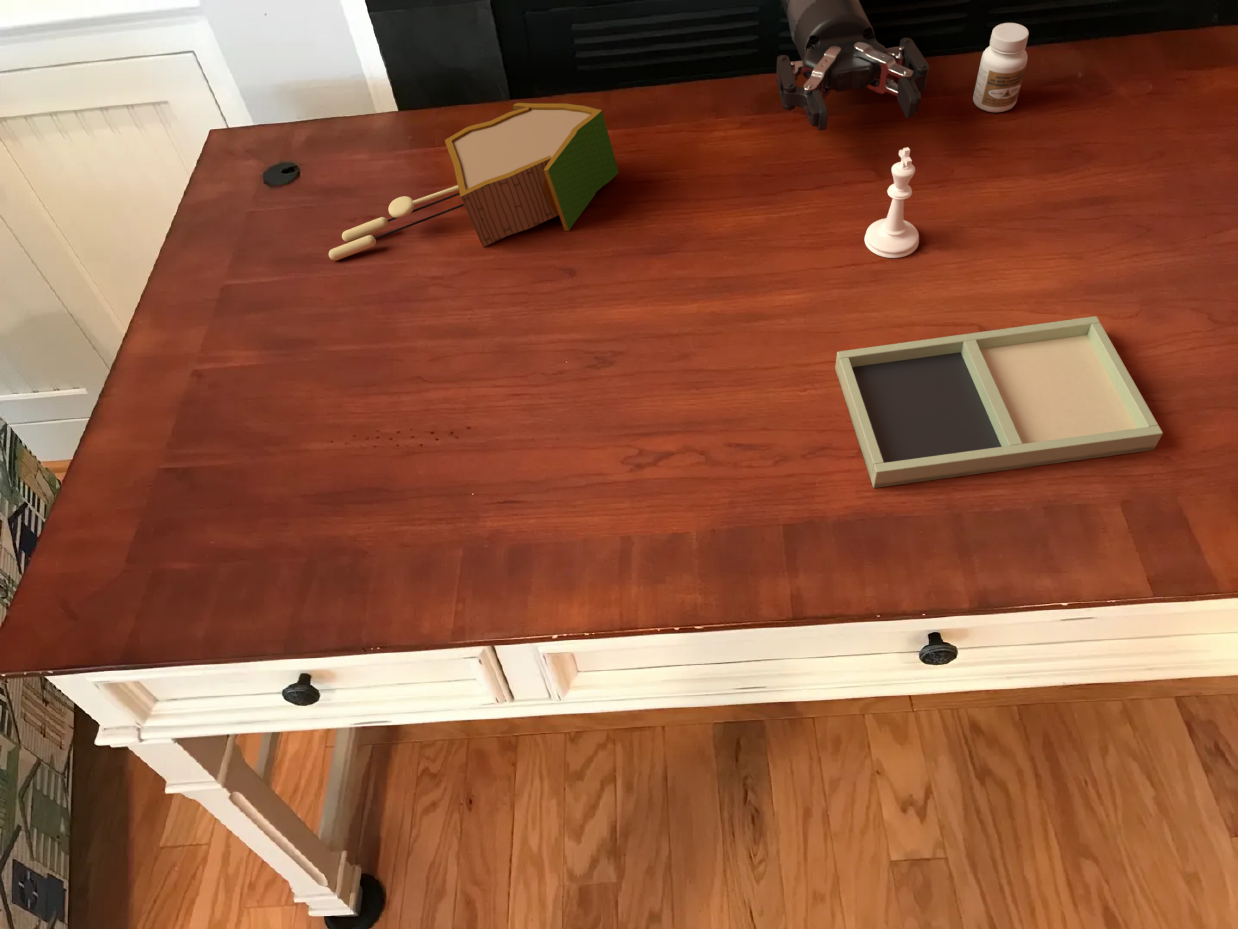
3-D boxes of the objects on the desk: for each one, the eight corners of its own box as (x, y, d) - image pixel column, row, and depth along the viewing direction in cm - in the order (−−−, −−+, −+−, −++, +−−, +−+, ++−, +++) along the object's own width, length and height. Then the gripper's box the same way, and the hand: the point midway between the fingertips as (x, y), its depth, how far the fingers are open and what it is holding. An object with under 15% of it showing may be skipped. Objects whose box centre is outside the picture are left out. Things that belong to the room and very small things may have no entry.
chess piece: (905, 218, 93) (922, 126, 85) (927, 251, 90) (946, 159, 82) (856, 229, 93) (868, 138, 85) (876, 263, 90) (890, 172, 82)
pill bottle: (984, 117, 101) (1000, 47, 95) (964, 94, 104) (979, 25, 98) (1023, 108, 102) (1042, 37, 96) (1003, 85, 104) (1020, 15, 98)
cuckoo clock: (352, 315, 97) (635, 207, 97) (315, 260, 91) (618, 144, 90) (337, 238, 104) (602, 137, 104) (302, 182, 98) (584, 74, 97)
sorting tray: (1089, 333, 83) (1096, 315, 81) (1153, 450, 75) (1163, 433, 73) (834, 368, 83) (836, 351, 81) (873, 488, 75) (876, 472, 74)
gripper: (762, 2, 100) (796, 91, 91) (901, -18, 100) (949, 69, 90) (761, 69, 106) (792, 159, 97) (891, 51, 106) (936, 139, 96)
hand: (868, 116), depth 94 cm, fingers open, 8 cm apart
